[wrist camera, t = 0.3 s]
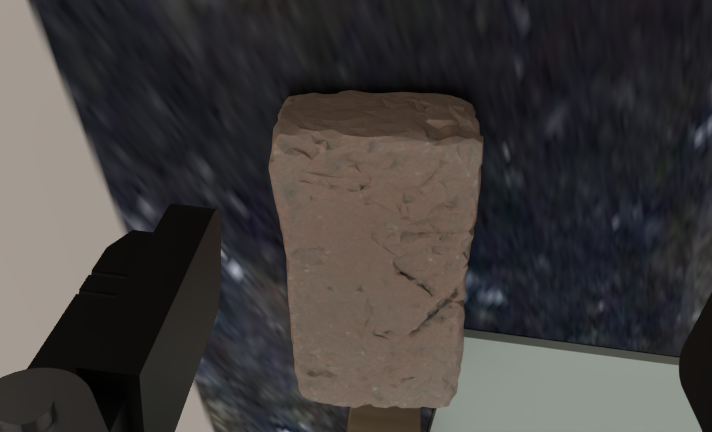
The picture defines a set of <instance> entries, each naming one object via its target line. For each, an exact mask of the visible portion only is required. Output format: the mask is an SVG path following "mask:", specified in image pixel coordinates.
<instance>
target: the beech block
mask: <svg viewBox="0 0 712 432" xmlns="http://www.w3.org/2000/svg"><path fill="white" fill-rule="evenodd" d="M346 432H421V424H420V408H400V407H398V406H391V407H388V408H382V407H374V406H373V405H371V404H367V405H362V406H360V407H357V408H352V407H350V411H349V417H348V423H347V429H346Z"/></svg>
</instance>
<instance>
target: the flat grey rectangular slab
mask: <svg viewBox="0 0 712 432" xmlns="http://www.w3.org/2000/svg"><path fill="white" fill-rule="evenodd" d="M679 359H680V358H678V357H670V356H663V355H655V354H648V353H640V352H633V351H625V350H618V349H610V348H603V347H596V346H588V345H581V344H573V343H566V342H558V341H551V340H543V339H536V338H528V337H521V336H513V335H506V334H498V333H491V332H483V331H476V330H468V329H464V350H463V357H462V362H461V372H460V375H459V378H458V389H457V394H456V395H455V396H454V397H453V398H452V400H451V402H450V404H449V406H447V407H441V408H434V411H433V414H432V417H431V421H430V424H429V428H428V431H427V432H702V430H701V427H700V425H699V423H698V421H697V419H696V417H695V414H694V412H693V410H692V408H691V406H690V404H689V401H688V399H687V397H686V395H685V393H684V391H683V388H682V386H681V382H680V378H679Z"/></svg>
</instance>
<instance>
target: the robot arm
mask: <svg viewBox="0 0 712 432" xmlns="http://www.w3.org/2000/svg"><path fill="white" fill-rule="evenodd" d="M220 283H221V216H220V212H219V210H218V209H211V208H204V207H196V206H189V205H181V204H174V203H172V204H170V205H169V206H168V208H167V209H166V211H165V213H164V215H163V216H162V218H161V220H160V222H159V223H158V225H157V227H156V229H155V230H154V232H153V233H152V232H144V231H137V230H132V231H131V232H129V233H128V234H126V235H125V236H123V237H122V238H120V239H119V240H117V241H116V242H115V243H113V244H111V245H110V246H108V247H107V248H106V250H105V251H104V253H103V254H102V256H101V257H100V259H99V260H98V262H97V263H96V265H95V266H94V268H93V269H92V274H91V275H88V277H87V278H86V280H85V281H84V283H83V285H82V286H81V288H80V289H79V294H76V295H75V297H74V298H73V300H72V301H71V303H70V304H69V306H68V307H67V309H66V310H65V312H64V313H63V315H62V317H61V318H60V320H59V321H58V323H57V324H56V326H55V327H54V329H53V330H52V332H51V333H50V335H49V336H48V338H47V339H46V341H45V342H44V344H43V346H42V347H41V348H40V350H39V352H38V353H37V355H36V356H35V358H34V359H33V361H32V362H31V364H30V365H29V367H28V368H27V369H26V370H22V371H18V372H14V373H12V374H9V375H7V376H4V377H2V378H0V432H175V430H176V427H177V424H178V421H179V419H180V416H181V413H182V410H183V407H184V405H185V402H186V399H187V396H188V394H189V391H190V388H191V385H192V383H193V380H194V377H195V374H196V372H197V369H198V366H199V363H200V361H201V358H202V355H203V352H204V349H205V347H206V344H207V341H208V338H209V336H210V333H211V330H212V327H213V325H214V321H215V318H216V314H217V309H218V304H219V297H220ZM679 378H680V382H681V386H682V388H683V391H684V393H685V395H686V397H687V399H688V401H689V404H690V406H691V408H692V410H693V412H694V414H695V417H696V419H697V421H698V423H699V425H700V427H701V430H702V432H712V293H711V295H710V297H709V299H708V301H707V303H706V305H705V306H704V308H703V310H702V312H701V314H700V316H699V318H698V320H697V322H696V323H695V325H694V327H693V329H692V331H691V333H690V335H689V337H688V339H687V340H686V342H685V344H684V346H683V348H682V351H681V354H680V359H679Z"/></svg>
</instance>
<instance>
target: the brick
mask: <svg viewBox="0 0 712 432" xmlns="http://www.w3.org/2000/svg"><path fill="white" fill-rule="evenodd" d="M279 112H280V113H279V114H278V122H277V123H276V125H275V126H274V128H273V139H272V152H271V156H270V162H269V172H270V178H271V183H272V189H273V194H274V199H275V203H276V208H277V211H278V215H279V219H280V227H281V231H282V235H283V240H284V247H285V252H286V256H287V284H288V300H289V309H290V323H291V339H292V343H293V353H294V360H295V374H296V376H297V378H298V385H299V391H300V392H301V394H302V396H303V397H305V398H307V399H309V400H312V401H316V402H319V403H325V404H332V405H335V406H346V407H352V408H357V407H360V406H362V405H367V404H371V405H373V406H374V407H382V408H388V407H391V406H398V407H400V408H420V407H429V408H441V407H447V406H449V404H450V402H451V400H452V398H453V397H454V396H455V395H456V394H457V389H458V378H459V375H460V372H461V362H462V357H463V350H464V319H465V310H464V301H463V300H464V299H465V282H466V272H467V269H468V265H467V263H468V260H469V257H470V249H471V242H472V239H473V237H474V225H475V222H476V219H477V208H478V198H479V192H480V183H481V165H482V162H483V137H482V136H480V130H479V122H478V121H477V119H476V118H475V113H476V112H475V110H474V108H473V106H472V104H470V103H469V102H467V101H465V100H463V99H461V98H456V97H453V96H450V95H444V94H437V93H413V92H394V93H365V92H359V91H353V90H348V91H341V92H339V93H337V94H319V93H309V94H305V95H296V96H290V97H288V98H287V99H286V100H285V102H284V104H283V106H282V108H281V110H280V111H279Z"/></svg>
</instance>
